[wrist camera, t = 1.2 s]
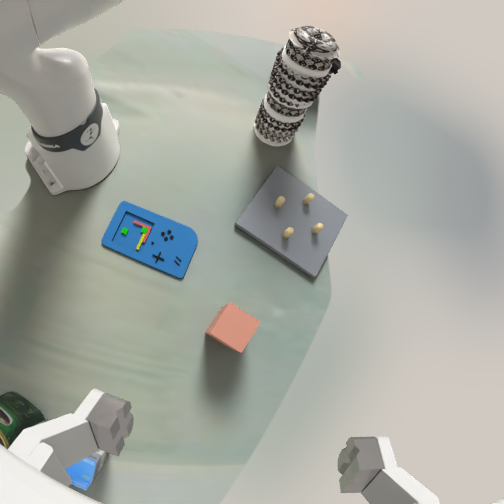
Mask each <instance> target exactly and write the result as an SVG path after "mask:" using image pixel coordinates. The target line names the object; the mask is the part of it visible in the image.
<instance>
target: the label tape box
mask: <svg viewBox="0 0 504 504" xmlns="http://www.w3.org/2000/svg"><path fill="white" fill-rule="evenodd" d="M107 454H108V452H105V451H102V450H100V449H99V450H98V451H97V452H95V453H93V454H91V455H90V456H88V457H86V458H84V459H83V460H81V461H79V462H77V463H75V464H74V465H72V466H70V467H68V468H66V469H65V470H66V471H67V473H68V475H69V476H70V478H71V480H72V483H71V484H73V485H75V486H77V487H79V488H81V489H83V490H85V491H86V490H87V489H88V487H89V485H90V484H92V482H93V481H94V479H95V477H96V475H97V474H98V472H99V470H100V469H101V467H102V465H103V464H104V462H105V460H106V459H107Z"/></svg>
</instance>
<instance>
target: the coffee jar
mask: <svg viewBox="0 0 504 504" xmlns="http://www.w3.org/2000/svg"><path fill="white" fill-rule="evenodd" d="M44 422H45V419H44V416H43V415H42V413H41V412H40V411H39V410H38V409H37V408H36V407H35V406H34V405H33V404H31V403H30V402H29V401H27V400H26V399H25V398H23V397H22V396H20V395H19V394H17V393H15V392H7V393H5V394H3V395H1V396H0V444H1V445H2V446H4V447H5V448H6V449H8V448H9V447H10V446H11V445H12V443H13V442H14V441H15V440H16V438H17V437H18V436H19V435H20V433H21V432H22V431H23V430H24V429H26V428H29V427H32V426H35V425H38V424H41V423H44Z"/></svg>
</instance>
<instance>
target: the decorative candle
mask: <svg viewBox="0 0 504 504" xmlns="http://www.w3.org/2000/svg"><path fill="white" fill-rule="evenodd" d="M281 50H282V51H278V53H277V55H278V56H277V57H276V61H275V63H274V64H275V66H274V67H273V71H272V72H271V75H272V76H271V77H270V81H269V83H268V90H269V91H268V93H267V94H266V96H265V98H264V99H263V100H262V103H261V106H260V107H261V108H259V111H258V114H257V116H256V119H255V122H254V132H255V134H256V136H257V137H258V138H259V139H260V140H261V141H262V142H264V143H266V144H268V145H271V146H278V147H279V146H284V145H287V144H288V143H290V142H291V140H292V138H293V136H295V132H297V131H298V127H299V126H300V125H301V122H303V120H304V118H303V117H305V112H306V110H307V107H309V106H311V105H312V103H313V101H315V99H317V97H318V95H319V94H320V92H321V91H322V89H321V88H323V87H324V86H325V85H326V84H327V83H326V82H327V81H328V80H329V78H330V77H331V75H330V69H331V67H332V63H333V61H334V60H335V58H336V57H338V56H339V54H340V50H339V47H338V46H337V44H336V42H335V39H334V38H333V37H332V36H331V35H330V34H329V33H327V32H326V31H324V30H322V29H320V28H317V27H313V26H304V27H300V28H296V29H292V30H291V31H290V32H289V40H288V43H287V45H286V46H285V47H283V48H282V49H281ZM281 55H282V56H281ZM326 75H327V76H326ZM325 76H326V77H325ZM320 83H321V84H320ZM316 89H317V90H316ZM294 131H295V132H294Z"/></svg>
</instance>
